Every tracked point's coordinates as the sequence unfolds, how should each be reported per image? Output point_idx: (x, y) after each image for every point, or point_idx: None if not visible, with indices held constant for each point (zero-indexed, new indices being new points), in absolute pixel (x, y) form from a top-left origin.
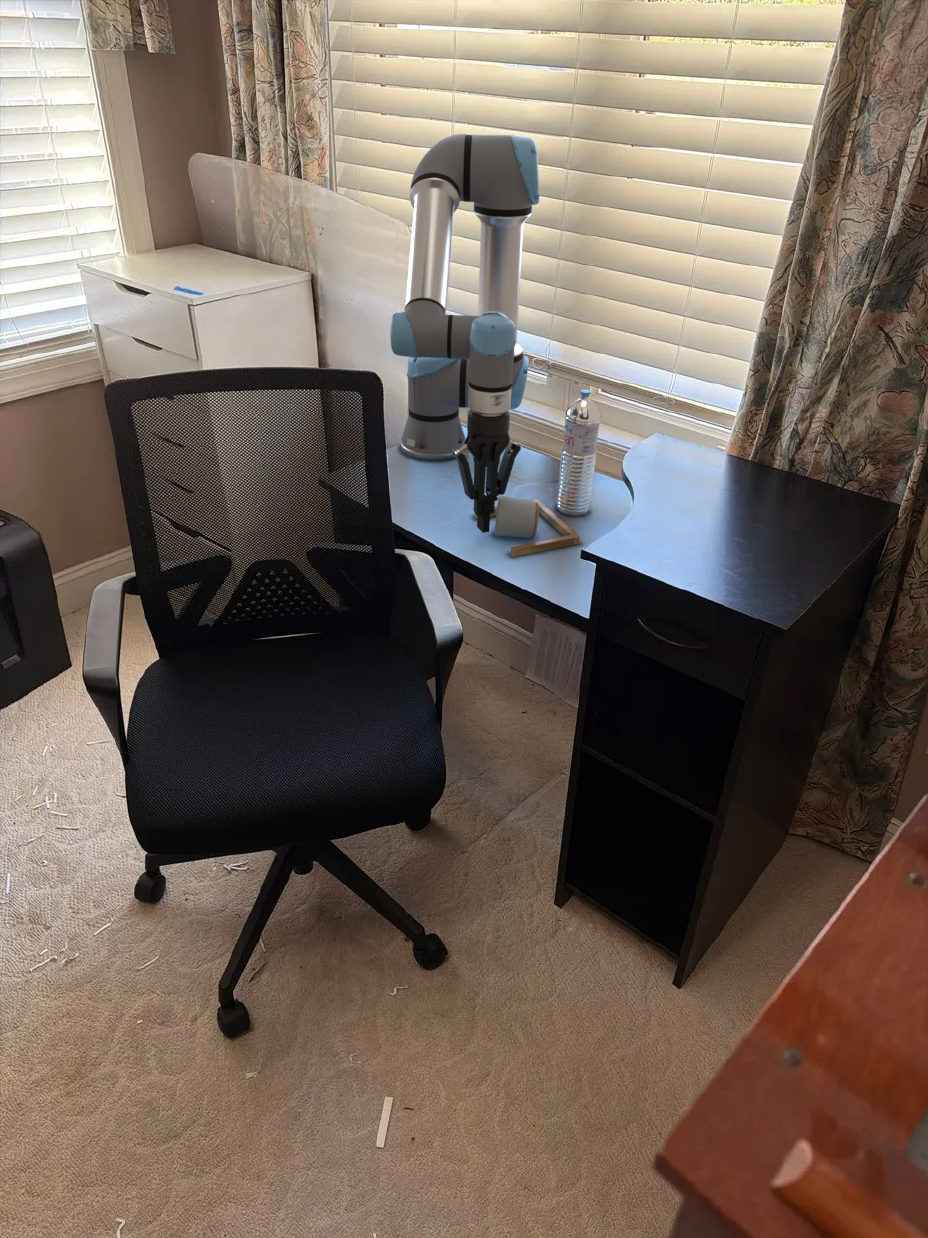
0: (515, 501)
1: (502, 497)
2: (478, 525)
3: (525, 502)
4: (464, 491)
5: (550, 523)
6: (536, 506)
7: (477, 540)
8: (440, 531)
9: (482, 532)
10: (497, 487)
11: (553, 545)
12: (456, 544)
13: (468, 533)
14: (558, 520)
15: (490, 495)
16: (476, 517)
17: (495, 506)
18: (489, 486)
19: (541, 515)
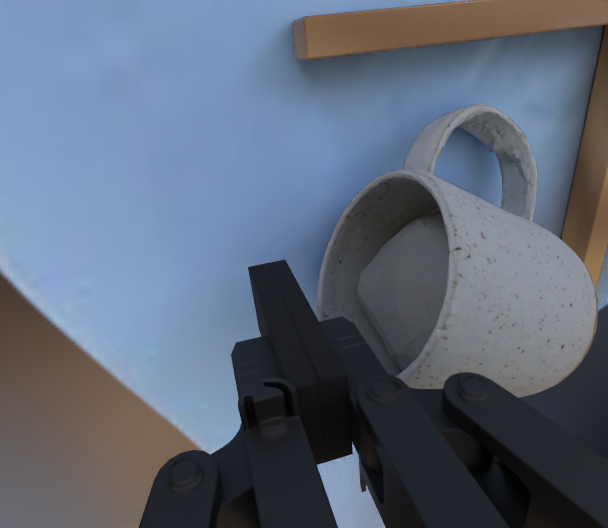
0: (500, 370)
1: (455, 345)
2: (253, 291)
3: (541, 369)
4: (150, 499)
5: (572, 190)
6: (564, 378)
7: (236, 273)
8: (49, 150)
9: (258, 325)
10: (461, 453)
11: None
12: (128, 295)
13: (210, 203)
14: (600, 236)
15: (365, 477)
16: (297, 54)
17: (440, 6)
18: (394, 526)
19: (588, 108)
